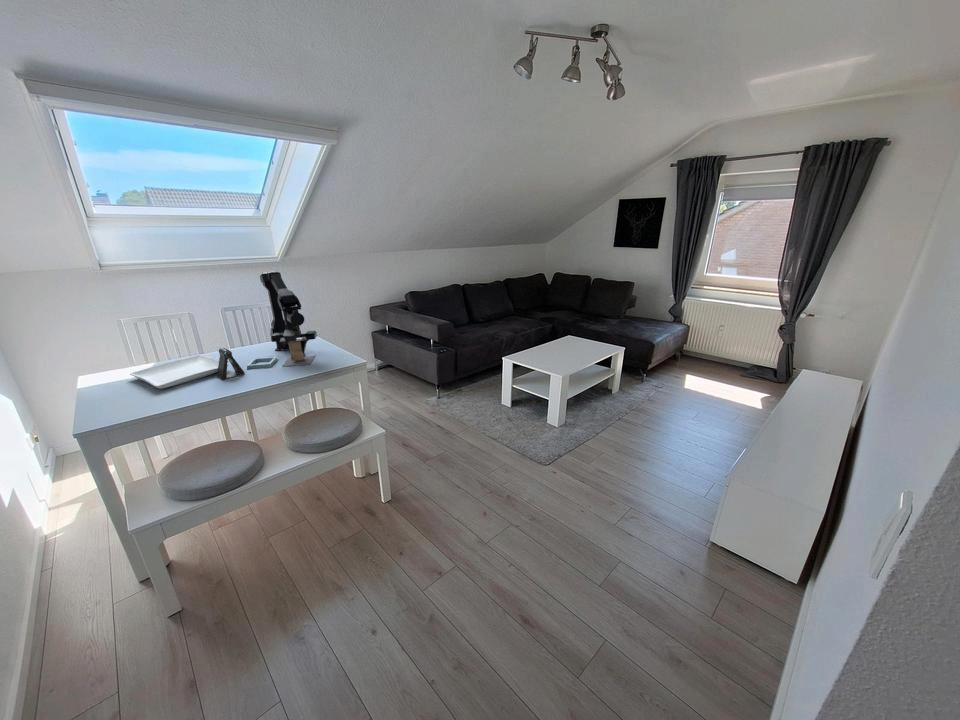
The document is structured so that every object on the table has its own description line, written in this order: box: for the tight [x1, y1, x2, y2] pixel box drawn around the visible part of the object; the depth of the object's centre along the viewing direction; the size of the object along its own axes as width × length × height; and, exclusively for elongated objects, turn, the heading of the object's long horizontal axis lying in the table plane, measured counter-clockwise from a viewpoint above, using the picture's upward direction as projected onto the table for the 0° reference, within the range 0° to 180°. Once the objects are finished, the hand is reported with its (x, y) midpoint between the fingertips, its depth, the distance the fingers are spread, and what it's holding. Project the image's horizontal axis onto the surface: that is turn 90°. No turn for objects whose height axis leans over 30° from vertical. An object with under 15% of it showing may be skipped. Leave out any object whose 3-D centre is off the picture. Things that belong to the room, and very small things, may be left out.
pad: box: [281, 355, 316, 368], centre depth 177 cm, size 12×12×1 cm
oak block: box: [288, 338, 306, 361], centre depth 175 cm, size 5×5×9 cm
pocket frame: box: [246, 356, 278, 370], centre depth 173 cm, size 10×10×2 cm
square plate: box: [129, 354, 230, 390], centre depth 161 cm, size 27×27×4 cm
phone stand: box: [216, 347, 246, 381], centre depth 159 cm, size 9×6×12 cm, turn 141°
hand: (297, 353), depth 175 cm, fingers closed on oak block, 5 cm apart
